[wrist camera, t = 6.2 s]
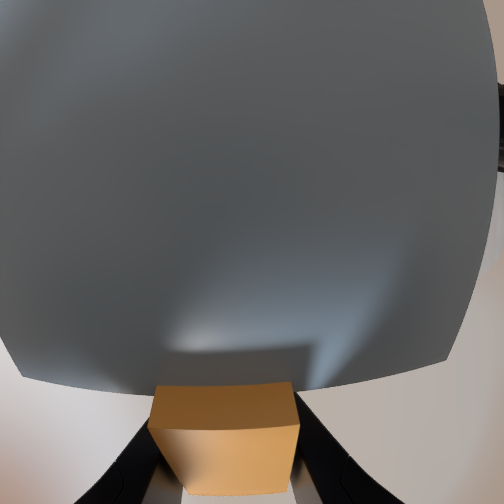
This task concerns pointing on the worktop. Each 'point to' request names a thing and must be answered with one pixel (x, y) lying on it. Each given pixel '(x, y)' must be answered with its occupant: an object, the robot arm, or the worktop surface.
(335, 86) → the lid
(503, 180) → the worktop surface
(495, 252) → the worktop surface
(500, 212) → the worktop surface
